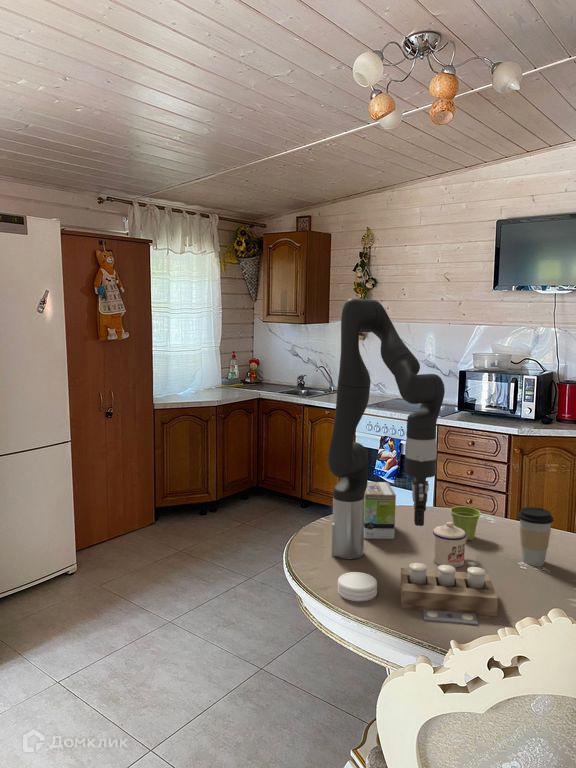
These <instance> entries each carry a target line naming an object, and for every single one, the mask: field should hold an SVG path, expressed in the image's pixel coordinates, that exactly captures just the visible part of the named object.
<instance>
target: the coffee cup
mask: <svg viewBox="0 0 576 768" xmlns="http://www.w3.org/2000/svg"><path fill="white" fill-rule="evenodd" d="M517 518H518V519H519V538H520V547H521V557H522V559H521V560H522V562H523V563H524V564H526V565H530V566H533V567H534V566H535V567H541V566H544V564H545V563H546V557H547V553H548V552H547V550H548V548H549V541H550V538H551V537H550V535H551V530H552V529H551V526H552V523H553V522H554V516H552V513H551V511H549V510H547V509H544V508H541V507H537V506H536V507H534V506H525V507H521V508H520V511H519V512H518V513H517Z"/></svg>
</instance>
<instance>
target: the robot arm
mask: <svg viewBox="0 0 576 768" xmlns="http://www.w3.org/2000/svg"><path fill="white" fill-rule="evenodd" d="M340 317H341V318H340V358H339V359H340V360H339V370H338V371H339V372H338V379H337V387H336V403H335V411H334V418H333V419H334V420H333V428H332V433H331V439H330V444H329V450H328V455H327V464H328V468H329V471H330V472H331V474H332V475H333V476H334V477H336V478H339V479H340V480H339V481H338V482H337V484H335V486H334V487H333V489H332V524H331V556H333V557H336V558H340V559H345V560H349V559H350V560H354V559H359V558H361V557H362V556H364V554H365V553H364V549H365V546H364V545H365V544H364V539H365V538H364V493H365V491H366V488H367V482H369V481H368V480H369V479H368V478H369V454H368V451H367V450H366V448H365V446H364V445H363V444H362V443H360V442H355V441H354V439H355V435H356V430H357V428H358V425H359V423H360V421H361V420H362V418H363V416H364V413H365V411H366V409H367V407H368V404H369V401H370V391H371V390H370V389H371V376H370V374H369V370H368V367H366V364H365V362H364V359H363V357H362V355H361V352H360V345H359V344H360V333H372V334H374V335H375V337H377V338H378V339H379V341H380V356H381V359H382V362H383V363H384V365H386V368H388V370H389V371H390V373H391V374H392V375H393V376H394V380H395V383H396V385H397V389H398V391H399V392H398V393H399V394H400V396H401V398H402V399H403V400H404V401H405V402H407V403H408V404H411V405H417V404H418V405H419V404H420V406H419V409H418V410H417V411H415V412H412V413H410V414H408V416H407V418H406V439H405V447H404V474H405V475H406V476H409V477H412V478H413V477H414V479H411V489H412V491H411V495H412V502H413V510H414V514H413V516H414V517H413V521H414V525H415V526H416V527H418V526H419V527H423V526H424V524H425V512H426V511H427V502H428V491H429V490H430V489H429V487H430V484H429V481H428V480H427V479H428V478H433V477H435V476H436V474H437V460H438V459H437V453H438V452H437V451H438V445H437V421H438V418H439V416H440V412H441V408H442V405H443V401H444V398H445V391H446V390H445V384H444V381H443V379H442V378H441V377H440V376H439V375H438V374H436V373H424V374H421V373H420V374H419V372H420V369H421V365H420V361H419V360H418V359H417V357H416V356H415V354H413V352H412V351H411V350H410V349H409V348H408V346H407V345H406V344H405V343H404V341H403V340H402V339H401V337H400V335H399V333H398V332H397V330H396V328H395V325H394V324H393V321H392V320H391V318H390V317H389V314H388V312H387V311H386V309H385V307H384V306H383V305H382V303H380V301H377V300H375V299H370V298H369V299H368V298H365V299H364V298H348V299H347V300H346V301H345V302H344V304H343V306H342V310H341V316H340Z"/></svg>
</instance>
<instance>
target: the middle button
mask: <svg viewBox="0 0 576 768" xmlns="http://www.w3.org/2000/svg"><path fill="white" fill-rule="evenodd" d="M437 570H438V584H439V585H440V586H446V587H454V586H455V572H457V570H456V567H455V568H454V567H453V566H450V565H438V567H437Z"/></svg>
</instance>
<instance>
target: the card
mask: <svg viewBox="0 0 576 768" xmlns="http://www.w3.org/2000/svg"><path fill="white" fill-rule="evenodd" d="M422 615H423V620H424V621H427V622H439V623H449V624H451V623H452V624H460V625H461V624H463V625H470V626H471V625H472V626H478V625H479V622H478V619H477V615H475V614H473V613H461V612H450V611H438V610H426V609H423V610H422Z"/></svg>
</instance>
